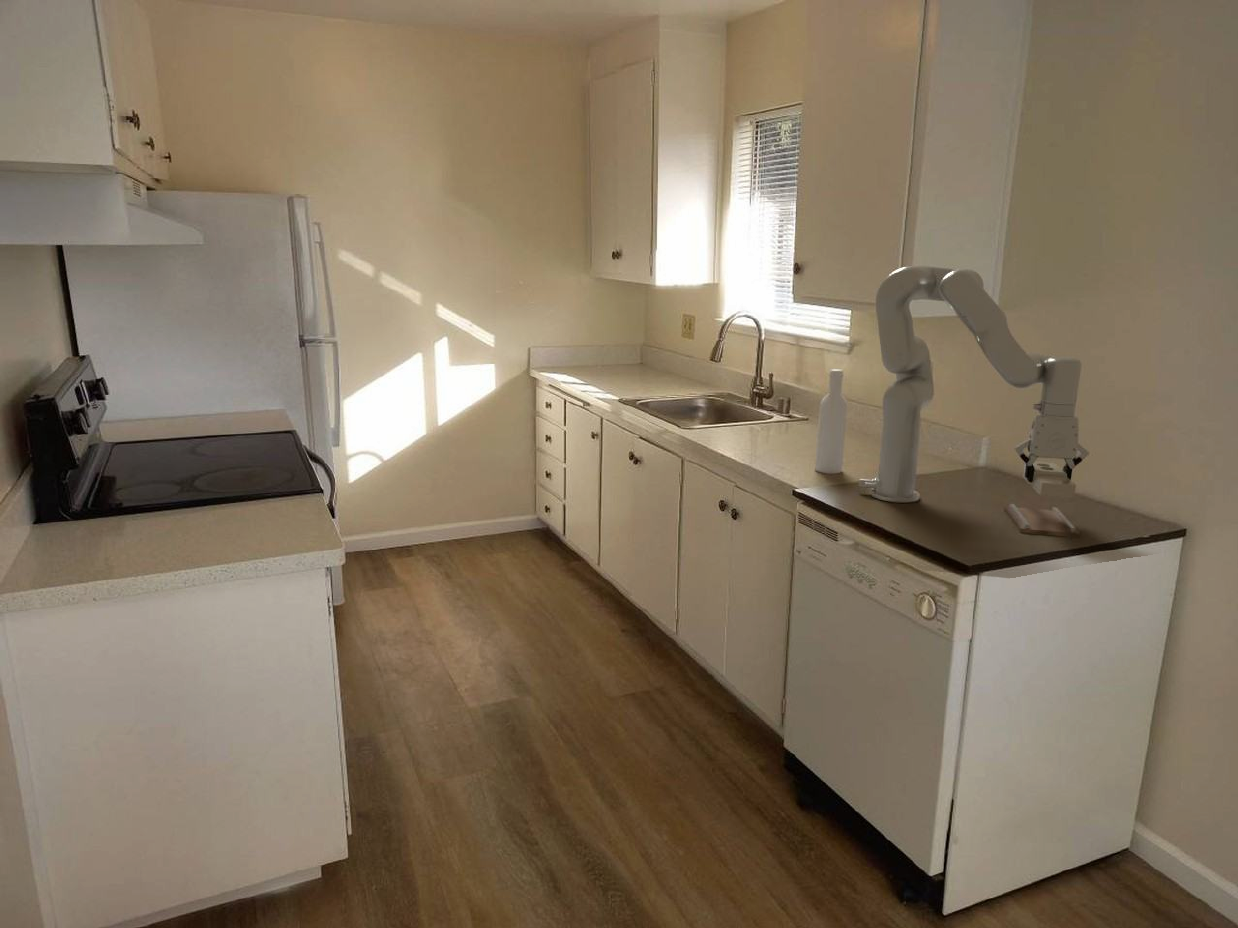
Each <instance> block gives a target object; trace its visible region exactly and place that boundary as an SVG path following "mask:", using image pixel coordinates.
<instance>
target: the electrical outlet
mask: <svg viewBox="0 0 1238 928" xmlns="http://www.w3.org/2000/svg"><path fill="white" fill-rule="evenodd" d="M1033 466H1034V475H1033V481H1032V482H1028V481H1027V478H1025V469H1026V463H1025V462H1024V467H1023V474H1022V477H1023V479H1024V480H1025V481H1027V483H1028V484H1029V485H1030V486H1031V488H1033V490H1034V491H1036V493H1037V494H1038V495H1039V496H1040V497H1052V498H1068V499H1075V492H1076V486H1077V485H1076V484H1075V483H1074V482H1073V481H1072V479H1071V480H1070V479H1069V478H1068V477H1067V473H1066V472H1064V471H1063V468H1061V467H1060V466H1059V465H1058V464H1057V463H1055V462H1045V461H1035V462H1034V463H1033Z"/></svg>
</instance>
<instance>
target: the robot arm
mask: <svg viewBox="0 0 1238 928" xmlns="http://www.w3.org/2000/svg"><path fill="white" fill-rule="evenodd" d="M875 295H876V296H875V311H876V312H875V313H876V317H877V327H878V336H879V344H880V351H881V353H880V355H881V361H882V363H883V364H882V365H883V366H884V368H885V369H886V371H888V372H889V373H891V374H894V375H895V378H896V380H895V381H894V382H892V383H891V384H890V385H888V387H887V388H886V390H885V391H884V393H883V397H882V429H881V442H880V443H881V444H880V452H879V453H880V454H879V464H878V472H877V473H878V474H877V475H876V476H875V478H871V479H867V478H859V482H858V483H859V484H858V485H859V486H860V487H864V488H870V493H869V494H870V495H871V496H872V497H873V498H875V499H877V500H881V501H884V502H890V503H891V502H892V503H913V502H917V501H919V500H920V497H921V495H920V493H919V492H918V491H916V490H915V486H916V475H917V467H918V460H919V459H918V458H919V447H920V438H921V422H922V421H921V411H922V410H923V409H925V408H927V407H928V406H930V404H931V402H932V400H933V399H934V394H935V386H934V385H935V384H934V377H933V369H932V361H931V355H930V350H929V347H928V345H927V344H926V342H925V340H924V339H922V337H920V336H918V335H915V332H914V331H915V330H914V321H913V317H912V313H911V310H910V309H911V308H910V303H911V302H912V301H918V300H929V301H937V302H945V304H946V305H947V306H948V307H949V308H950V309H951V311H952V312H953V313H954V314H955V316H956V317H957V318H958V319H959V320H960V321H961V322H962V324H963V325H964V326H965V328H967V330H968V332H970V333H971V334H972V336H973V337H974V339H975V341H976V344H977V345H978V346H979V348H980V349H981V352H982V353H983V354H984V356H985V358H986V359H987V361H988V362H989V363H990V364H991V366H992V367H993V368H994V369H995V370H996V372H997V373H998V374H999V375H1000V376H1001V377H1002V379H1003V380H1004V381H1006V383H1008V384H1009V385H1010V386H1011V387H1014V388H1015V389H1016V388H1017V389H1026V388H1029V387H1032V386H1033V385H1036V384H1037V385H1039V384H1040V385H1041V384H1042V389H1041V396H1040V400H1039V402H1038V403H1033V405H1032V409H1033V410H1036V411H1038V412H1037V413H1036V414H1035V416H1034V418H1033V421H1032V425H1031V428H1030V432H1029V436H1028V439H1026V440H1024V441H1023V442H1021V443H1019V444H1017V445H1016V446H1014V450H1015V452H1016V454H1017V455H1018V456H1019V457H1020V459H1021V460H1022V461H1023V462H1024V464H1025V463H1026V469H1025V478H1027V481H1028V482H1032V481H1033V475H1034V466H1033V463H1034V462H1037V459H1038V458H1041V459H1042V458H1044V459H1057V460H1058V459H1060V460H1064V462H1065V464H1064V466H1063V468H1062V470H1063V471H1064V472H1066V473H1067V477H1068V478H1069V479H1070V480H1071V481H1072V475H1073V469H1075V468H1076V467H1077V465H1079V464H1080V463H1082V461H1083V460H1085V458H1086V457H1087V456H1089V455H1090V452H1089V451H1088V450H1087V449H1086V448H1085V447H1083V446H1082V445H1081V444H1080V443H1079V428H1080V427H1079V417H1078V416H1076V415H1075V413H1076V407H1077V399H1078V391H1079V386H1080V385H1079V384H1080V377H1081V371H1082V362H1081V360H1080V359H1078V358H1077V357H1068V356H1048V355H1044V354H1039V353H1032V352H1028V353H1027V352H1026V351H1025V350H1024V349H1023V348H1022V346H1021V345H1020V343H1018V341H1017V340H1016V338H1015V337H1014V336H1013V334H1012V333H1011V331H1010V327H1009V326H1008V321H1007V317H1006V314H1005V312H1004V310H1003V309H1001V307H1000V306H999V305H998V304H997V303H996V301H995V300H994V299H993V298H992V297H991V296H990V295H989V293H988V292H987V291H986V290H985V288H984V281H983V278H982V276H981V275H980V274H979V273H978V272H977V271H975V270H973V269H968V268H949V267H937V266H936V267H935V266H927V265H909V266H904V267H900V268H898V269H896V270H894V271H893V272H891V273H889V275H887V276H886V277H885V278H884V280H882V282H881V284H880V285H879V287H878V288H877V292H876V294H875ZM1026 448H1027V452H1029V454H1028V455H1027V454H1025V452H1024V450H1025V449H1026ZM1078 452H1079V454H1078ZM1077 454H1078V455H1077ZM1025 478H1024V479H1025ZM1028 482H1027V483H1028Z"/></svg>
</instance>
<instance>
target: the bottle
mask: <svg viewBox="0 0 1238 928" xmlns="http://www.w3.org/2000/svg"><path fill="white" fill-rule="evenodd" d="M828 376H829V381H828V382H829V383H828V393H827V394H826V395H825V396H823V398H822V399H821V402H820V404H819V412H818V413H819V415H818V416H819V417H818V426H817V427H818V428H817V441H816V453H815V454H816V455H815V459H814V461H815V462H814V465H815V466H814V470H815V471H816V472H819V473H821V474H829V475H831V474H832V475H833V474H834V475H835V474H836V475H837V474H840V473H842V471H843V467H844V466H843V465H844V451H845V439H846V429H847V428H846V427H847V418H848V417H847V416H848V402H847V399H846V398H845V397H844V396H843V395H842V389H843V388H842V386H843V377H844V370H842V369H838V368H833V369H830V371H829V375H828Z"/></svg>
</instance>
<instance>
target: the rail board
mask: <svg viewBox="0 0 1238 928" xmlns="http://www.w3.org/2000/svg"><path fill="white" fill-rule="evenodd" d="M1003 511H1004V512H1005V514H1006V515H1007V517H1008V518H1009V519H1010V521H1011V522H1012V523H1013V525H1014V526H1015V528H1016V529H1017V531H1018V533H1023V534H1033V535H1045V536H1058V537H1070V538H1080V537H1081V533H1080V532H1079V530H1078V529H1077V528H1076V527H1075V526H1074V525H1073V524H1072V523H1071V521H1069V519H1068V518H1067V517H1066V516H1065V515H1064V513H1063V512H1061V510H1060V509H1059V508H1058V507H1056V506H1052V507H1051V509H1042V508H1041V509H1040V508H1029V507H1028V508H1026V507H1017V506H1016V504H1014V503H1009V506H1004V509H1003Z"/></svg>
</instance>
